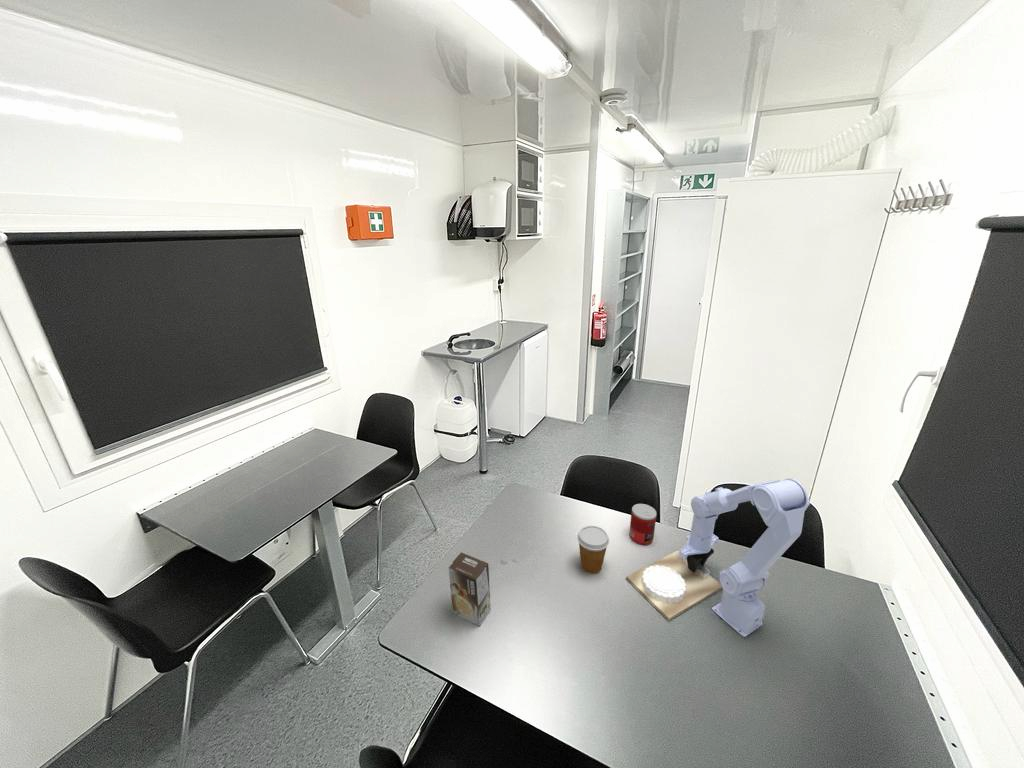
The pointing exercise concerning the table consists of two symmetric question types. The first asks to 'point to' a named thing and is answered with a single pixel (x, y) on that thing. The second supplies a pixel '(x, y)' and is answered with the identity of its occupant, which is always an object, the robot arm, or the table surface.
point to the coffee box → (470, 588)
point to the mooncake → (664, 584)
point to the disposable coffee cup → (592, 548)
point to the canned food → (642, 524)
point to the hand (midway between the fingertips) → (695, 568)
